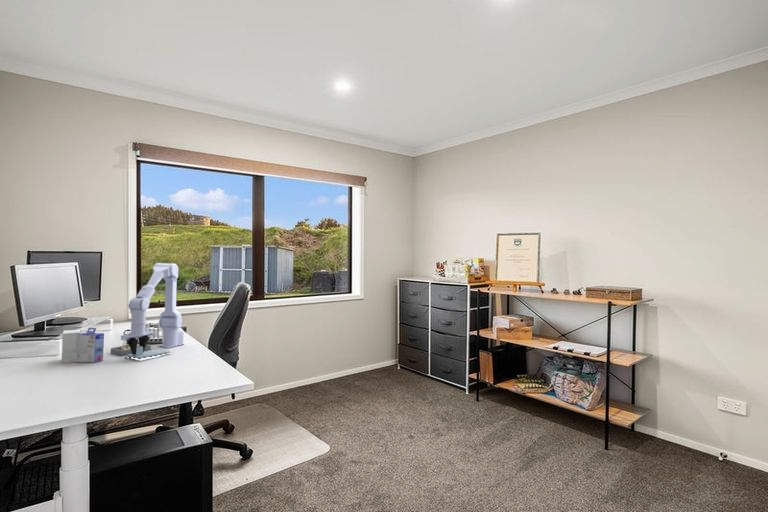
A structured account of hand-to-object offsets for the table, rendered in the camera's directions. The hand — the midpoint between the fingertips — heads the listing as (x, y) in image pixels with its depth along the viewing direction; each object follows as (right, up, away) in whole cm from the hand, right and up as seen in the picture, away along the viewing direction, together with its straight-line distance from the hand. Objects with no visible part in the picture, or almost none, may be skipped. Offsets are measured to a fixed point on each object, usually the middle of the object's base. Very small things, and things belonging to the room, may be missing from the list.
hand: (137, 353), depth 187 cm
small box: (-26, -2, -6) cm, 27 cm away
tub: (-10, -2, +11) cm, 15 cm away
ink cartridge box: (-18, -2, -6) cm, 19 cm away
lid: (+2, -2, +5) cm, 6 cm away
